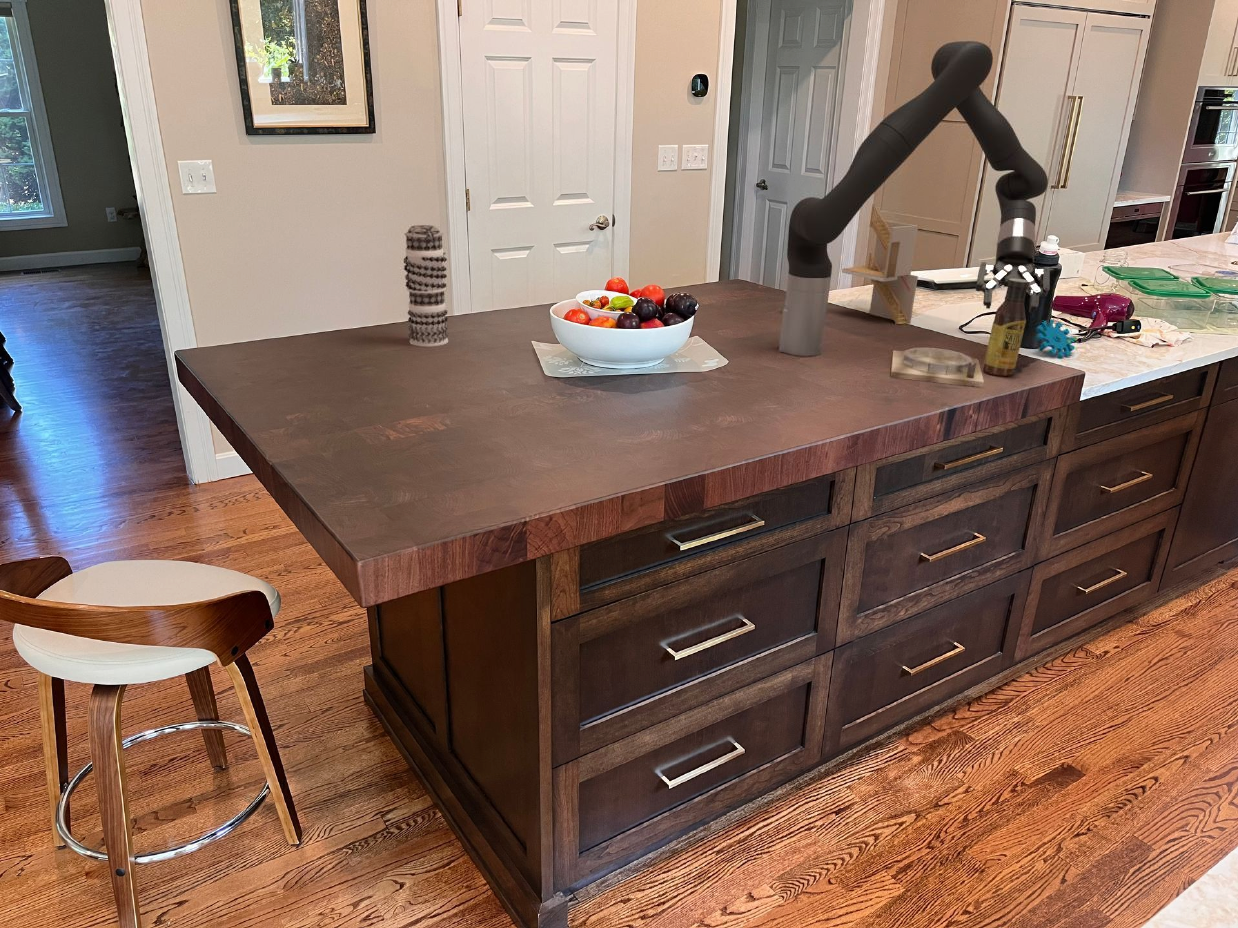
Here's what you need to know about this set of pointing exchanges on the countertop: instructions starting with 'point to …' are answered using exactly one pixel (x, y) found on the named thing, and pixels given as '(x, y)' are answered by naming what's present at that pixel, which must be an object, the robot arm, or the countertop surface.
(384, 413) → the countertop surface
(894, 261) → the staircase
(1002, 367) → the sauce bottle
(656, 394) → the countertop surface
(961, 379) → the maple board
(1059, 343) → the teal virus model
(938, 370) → the white segmented ring
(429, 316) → the decorative candle
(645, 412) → the countertop surface
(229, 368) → the countertop surface
